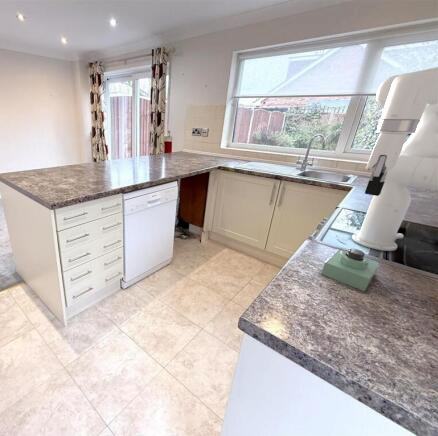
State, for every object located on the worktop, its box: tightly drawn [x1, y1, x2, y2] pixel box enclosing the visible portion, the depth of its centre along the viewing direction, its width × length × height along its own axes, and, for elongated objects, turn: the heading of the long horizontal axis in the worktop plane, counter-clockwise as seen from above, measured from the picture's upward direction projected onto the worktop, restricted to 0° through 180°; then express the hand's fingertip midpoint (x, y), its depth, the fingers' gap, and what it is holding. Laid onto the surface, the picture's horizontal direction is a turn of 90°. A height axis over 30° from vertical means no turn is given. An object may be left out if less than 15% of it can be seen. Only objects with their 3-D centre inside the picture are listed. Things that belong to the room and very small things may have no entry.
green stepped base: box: [320, 249, 380, 292], centre depth 70 cm, size 12×10×6 cm
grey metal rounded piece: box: [346, 248, 366, 261], centre depth 69 cm, size 4×4×2 cm
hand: (372, 194), depth 71 cm, fingers closed
